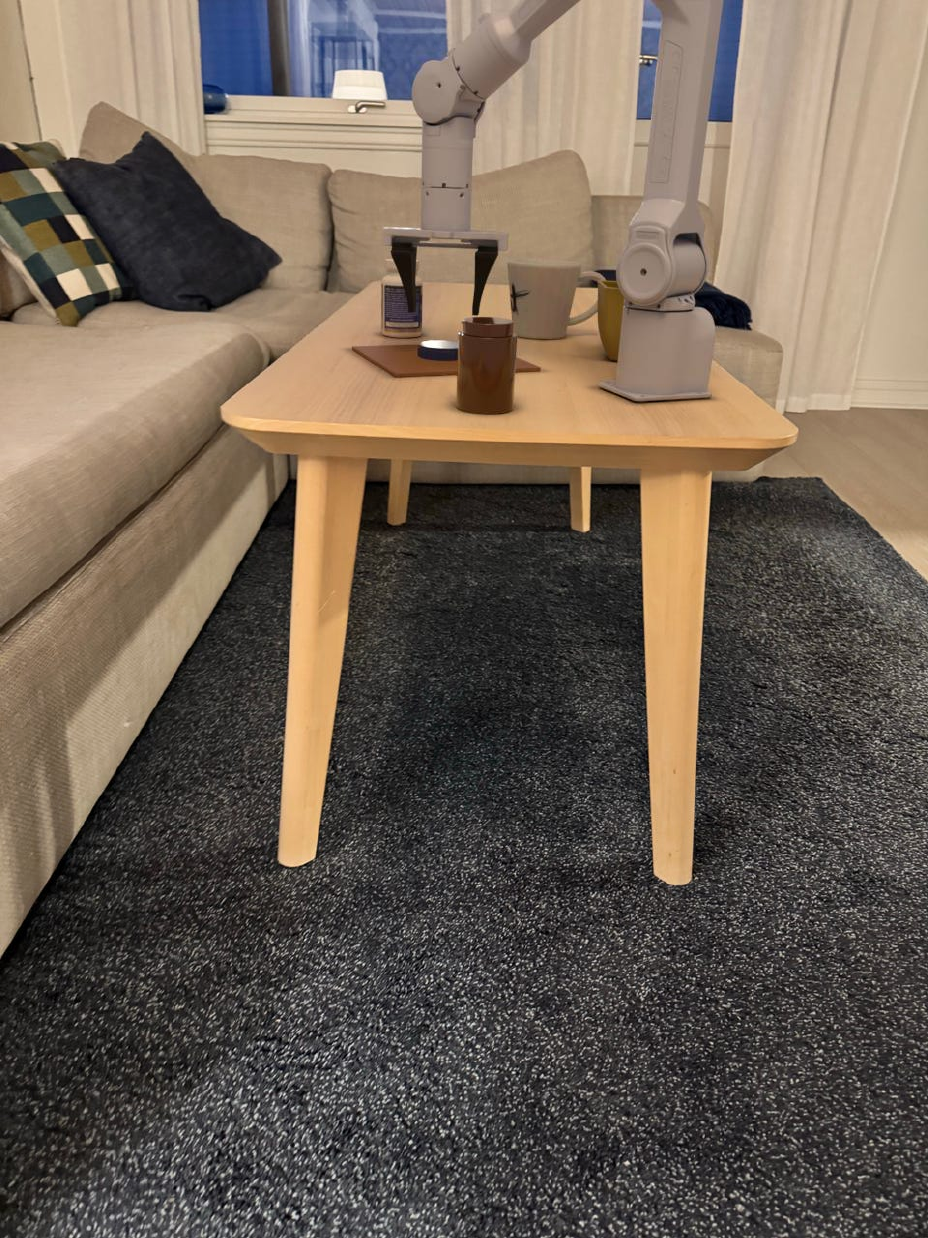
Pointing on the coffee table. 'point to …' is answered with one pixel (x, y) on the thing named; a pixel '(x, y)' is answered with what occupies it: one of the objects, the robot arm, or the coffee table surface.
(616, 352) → the flower pot
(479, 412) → the jar
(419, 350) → the lid
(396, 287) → the pill bottle
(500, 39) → the robot arm
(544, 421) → the coffee table surface
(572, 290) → the mug
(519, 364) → the mat
